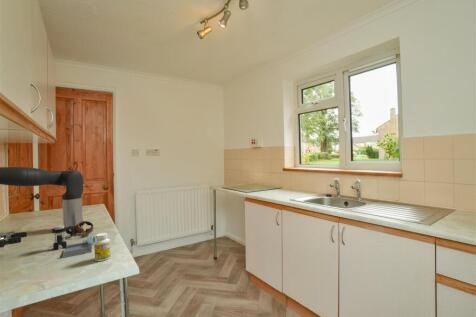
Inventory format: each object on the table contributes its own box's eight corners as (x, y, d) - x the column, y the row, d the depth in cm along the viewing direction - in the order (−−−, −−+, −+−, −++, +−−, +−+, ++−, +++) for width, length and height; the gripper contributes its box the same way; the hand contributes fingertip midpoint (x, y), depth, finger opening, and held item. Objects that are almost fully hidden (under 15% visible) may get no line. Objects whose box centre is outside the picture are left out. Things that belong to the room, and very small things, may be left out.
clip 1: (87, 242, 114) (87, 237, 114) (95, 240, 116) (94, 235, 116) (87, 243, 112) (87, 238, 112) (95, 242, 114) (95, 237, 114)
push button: (48, 252, 103) (47, 229, 103) (48, 249, 107) (47, 226, 107) (67, 248, 107) (66, 226, 107) (67, 245, 111) (66, 223, 111)
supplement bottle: (113, 257, 96) (112, 233, 95) (100, 262, 91) (99, 237, 91) (105, 254, 98) (104, 231, 98) (91, 260, 93) (90, 235, 93)
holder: (65, 250, 104) (64, 241, 104) (92, 245, 109) (91, 236, 109) (62, 257, 97) (62, 247, 97) (91, 252, 102) (91, 242, 102)
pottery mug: (88, 232, 132) (93, 219, 130) (90, 244, 125) (96, 230, 124) (62, 231, 124) (67, 218, 122) (63, 244, 117) (68, 230, 116)
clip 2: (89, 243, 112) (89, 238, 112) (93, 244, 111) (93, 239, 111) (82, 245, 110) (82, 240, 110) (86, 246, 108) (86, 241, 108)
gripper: (-41, 240, 87) (18, 232, 95) (-24, 230, 99) (28, 224, 107) (-41, 261, 87) (19, 251, 95) (-23, 248, 99) (28, 240, 107)
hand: (23, 236), depth 101 cm, fingers open, 8 cm apart
